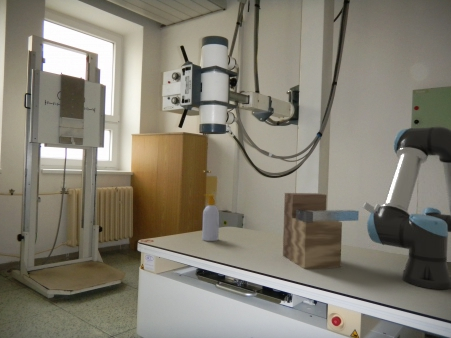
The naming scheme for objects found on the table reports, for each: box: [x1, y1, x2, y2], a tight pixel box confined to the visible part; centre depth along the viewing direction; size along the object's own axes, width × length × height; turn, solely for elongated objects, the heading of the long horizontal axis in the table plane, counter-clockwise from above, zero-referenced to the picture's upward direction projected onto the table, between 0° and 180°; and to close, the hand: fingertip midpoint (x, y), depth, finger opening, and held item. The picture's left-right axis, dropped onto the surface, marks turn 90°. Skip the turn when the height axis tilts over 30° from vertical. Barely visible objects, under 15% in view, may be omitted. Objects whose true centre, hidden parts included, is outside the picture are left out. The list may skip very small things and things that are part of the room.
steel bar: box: [296, 209, 360, 223], centre depth 142 cm, size 8×26×4 cm, turn 108°
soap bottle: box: [201, 193, 220, 242], centre depth 183 cm, size 9×9×24 cm
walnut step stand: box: [282, 192, 343, 270], centre depth 145 cm, size 20×16×28 cm
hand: (369, 205), depth 148 cm, fingers open, 7 cm apart
